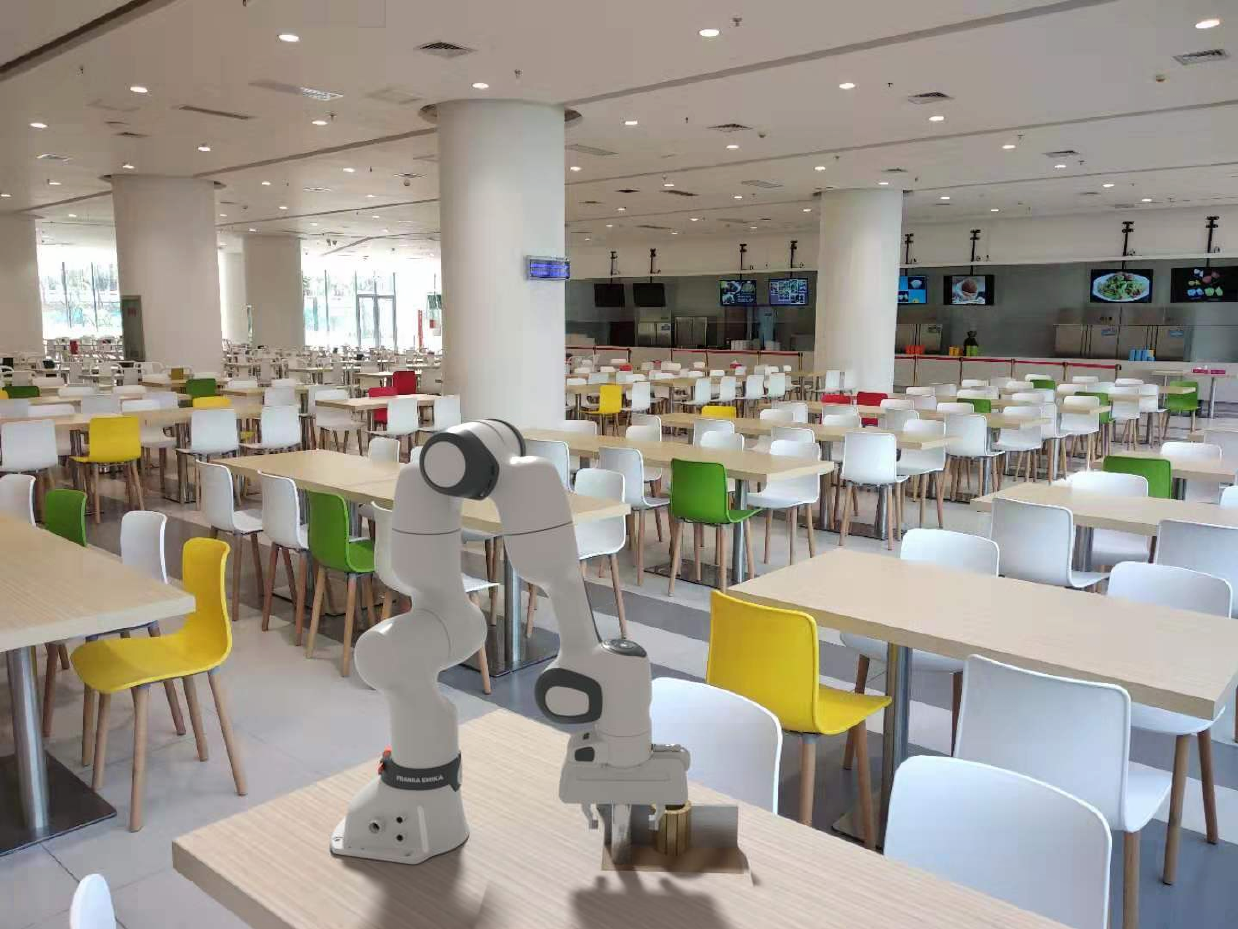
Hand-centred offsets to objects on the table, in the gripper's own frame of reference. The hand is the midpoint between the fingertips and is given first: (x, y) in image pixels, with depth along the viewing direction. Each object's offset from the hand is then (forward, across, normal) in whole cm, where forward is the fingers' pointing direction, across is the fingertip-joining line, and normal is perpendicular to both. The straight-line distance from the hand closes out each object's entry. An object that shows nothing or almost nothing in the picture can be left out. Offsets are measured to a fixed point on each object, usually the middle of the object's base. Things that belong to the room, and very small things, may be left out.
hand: (623, 828), depth 150 cm
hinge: (+6, -8, -5) cm, 11 cm away
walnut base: (+7, -8, -3) cm, 11 cm away
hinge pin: (+5, 0, 0) cm, 5 cm away
